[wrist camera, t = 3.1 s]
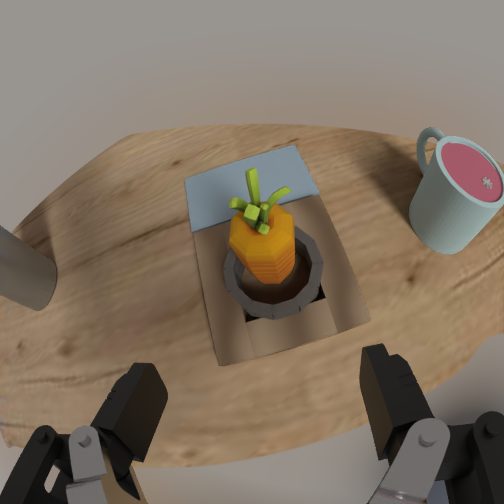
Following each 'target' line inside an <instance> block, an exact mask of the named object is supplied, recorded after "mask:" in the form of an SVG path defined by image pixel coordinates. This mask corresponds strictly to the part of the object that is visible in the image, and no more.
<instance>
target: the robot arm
mask: <svg viewBox="0 0 504 504" xmlns="http://www.w3.org/2000/svg"><path fill="white" fill-rule="evenodd" d="M56 278H57V271H56V266H55V263H54V262H53V261H52V260H51V259H49V258H47V257H46V256H44V255H43V254H41V253H40V252H38V251H37V250H35V249H34V248H32V247H31V246H29V245H28V244H26V243H25V242H23V241H22V240H20V239H19V238H17V237H16V236H14V235H13V234H11V233H10V232H9V231H7V230H6V229H4V228H3V227H2V226H0V295H1V296H4V297H6V298H8V299H10V300H12V301H15V302H17V303H19V304H21V305H23V306H26V307H28V308H31V309H33V310H37V311H38V310H41V309H43V308H44V307H45V306H46V305H47V304H48V302H49V300H50V299H51V297H52V295H53V292H54V289H55V285H56ZM359 380H360V389H361V393H362V396H363V400H364V404H365V407H366V411H367V415H368V419H369V422H370V426H371V430H372V434H373V438H374V443H375V447H376V451H377V455H378V460H383V459H387V458H388V463H389V469H388V470H387V472H386V474H385V475H384V477H383V479H382V481H381V482H380V484H379V486H378V487H377V489H376V490H375V492H374V494H373V495H372V497H371V498H370V500H369V501H368V503H367V504H427V502H426V498H427V495H428V493H429V491H430V489H431V487H432V484H433V482H434V481H440V480H444V481H445V485H446V490H447V495H448V500H449V504H504V416H503V415H502V414H501V413H498V412H494V411H493V412H492V411H490V412H486V413H484V414H483V415H481V416H480V417H479V418H478V419H477V421H476V422H475V423H473V424H465V425H457V426H450V425H446V424H445V423H444V422H442V421H440V420H438V419H435V417H434V416H433V414H432V412H431V410H430V408H429V406H428V404H427V401H426V399H425V397H424V395H423V393H422V390H421V388H420V386H419V384H418V383H417V380H416V378H415V376H414V374H413V372H412V370H411V368H410V366H409V364H408V362H407V361H406V360H405V359H403V358H402V357H401V356H400V355H398V354H395V355H391V356H389V354H388V352H387V350H386V348H385V346H384V344H382V343H381V344H377V345H372V346H367V347H363V348H362V355H361V366H360V376H359ZM167 400H168V392H167V389H166V387H165V385H164V383H163V381H162V379H161V377H160V375H159V373H158V371H157V370H156V368H155V366H154V365H153V364H152V363H134V364H133V365H132V366H131V368H130V370H129V371H128V373H127V374H124V375H123V376H122V377H121V378H120V379H119V380H117V381H116V383H115V385H114V386H113V388H112V389H111V392H110V393H109V394H108V396H107V399H105V401H104V403H103V405H102V406H101V408H100V410H99V411H98V413H97V415H96V416H95V418H94V420H93V422H92V423H91V425H90V426H81V427H79V428H77V429H75V430H74V431H73V432H72V434H58V433H57V432H56V431H55V430H54V429H53V428H52V427H51V426H48V425H43V426H41V427H39V428H37V429H36V430H35V431H34V433H33V434H32V436H31V438H30V439H29V441H28V443H27V445H26V446H25V448H24V450H23V452H22V453H21V455H20V457H19V459H18V461H17V463H16V465H15V467H14V468H13V470H12V472H11V474H10V476H9V478H8V480H7V482H6V484H5V486H4V489H3V490H2V493H1V495H0V504H148V503H147V501H146V499H145V497H144V495H143V492H142V490H141V487H140V485H139V482H138V480H137V477H136V475H135V472H134V469H133V467H132V466H131V463H132V460H134V461H139V462H144V459H145V457H146V454H147V451H148V449H149V446H150V444H151V441H152V439H153V436H154V433H155V431H156V428H157V426H158V423H159V421H160V418H161V416H162V413H163V411H164V408H165V406H166V403H167ZM53 465H54V466H55V467H57V468H58V469H59V470H60V472H59V474H58V477H57V479H56V481H55V484H54V486H53V488H52V490H51V492H50V493H48V492H47V491H46V490H45V487H44V483H45V481H46V478H47V476H48V474H49V472H50V470H51V468H52V466H53Z"/></svg>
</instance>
